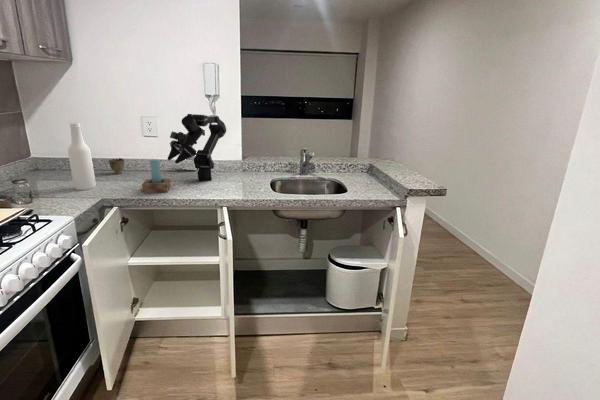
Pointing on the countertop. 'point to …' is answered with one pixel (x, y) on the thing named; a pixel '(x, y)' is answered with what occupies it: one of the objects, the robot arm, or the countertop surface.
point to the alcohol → (80, 160)
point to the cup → (117, 165)
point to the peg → (155, 171)
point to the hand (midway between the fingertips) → (171, 161)
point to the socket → (156, 186)
